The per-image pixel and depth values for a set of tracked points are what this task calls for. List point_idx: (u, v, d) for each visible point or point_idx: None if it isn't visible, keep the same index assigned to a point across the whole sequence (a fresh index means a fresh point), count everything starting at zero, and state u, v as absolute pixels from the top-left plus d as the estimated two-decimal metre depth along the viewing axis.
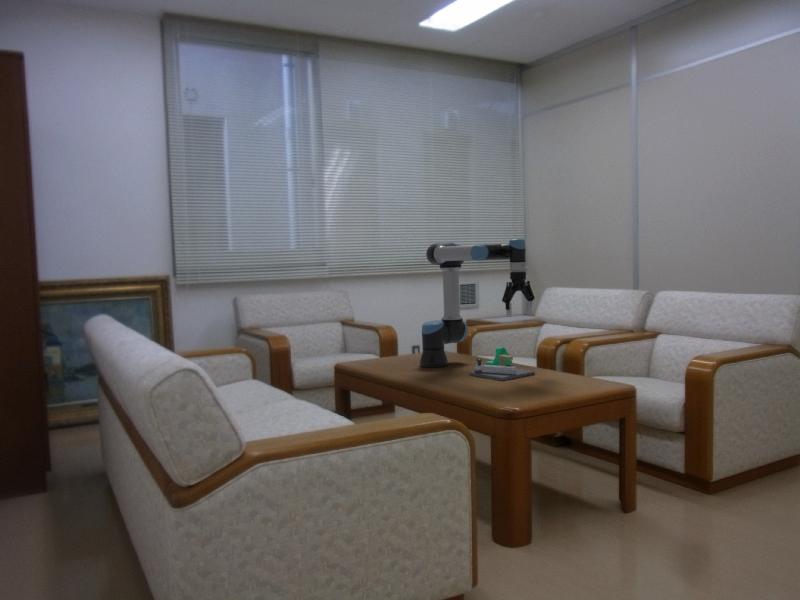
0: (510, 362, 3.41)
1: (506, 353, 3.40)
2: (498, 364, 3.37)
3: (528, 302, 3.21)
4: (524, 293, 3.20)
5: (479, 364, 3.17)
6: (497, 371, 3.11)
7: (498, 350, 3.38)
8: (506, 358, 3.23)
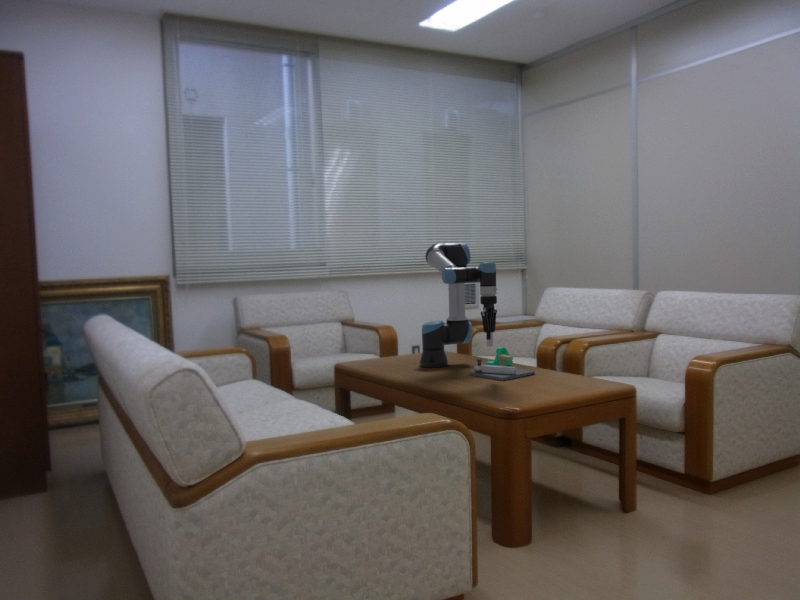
0: (511, 362, 3.41)
1: (507, 353, 3.39)
2: (498, 364, 3.37)
3: None
4: None
5: (479, 364, 3.17)
6: (497, 371, 3.11)
7: (499, 350, 3.38)
8: (506, 358, 3.23)
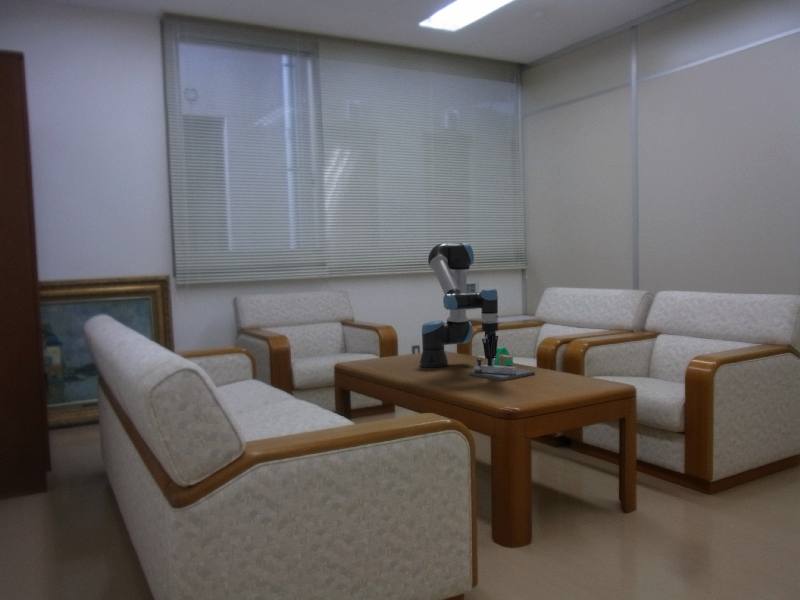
0: (511, 362, 3.41)
1: (507, 353, 3.39)
2: (499, 364, 3.36)
3: None
4: None
5: (479, 364, 3.17)
6: (497, 371, 3.11)
7: (499, 350, 3.37)
8: (506, 358, 3.23)
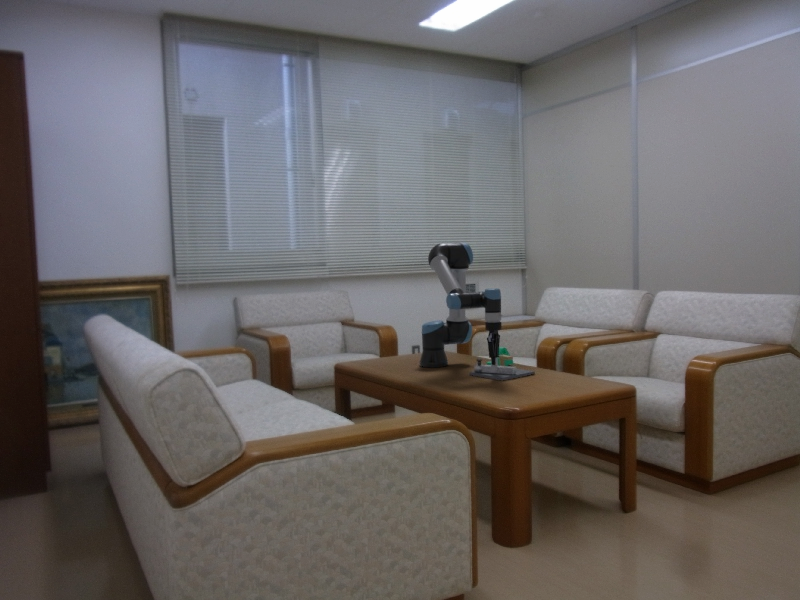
0: (511, 362, 3.40)
1: (507, 353, 3.39)
2: (499, 364, 3.36)
3: None
4: None
5: (479, 364, 3.17)
6: (497, 371, 3.11)
7: (499, 350, 3.37)
8: (506, 358, 3.23)
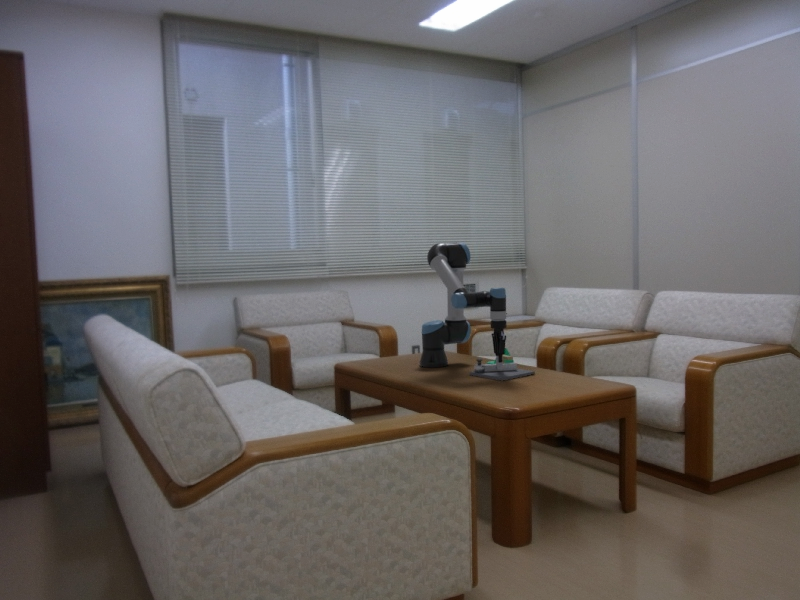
0: (511, 362, 3.40)
1: (507, 353, 3.38)
2: None
3: None
4: None
5: (480, 364, 3.17)
6: None
7: None
8: (506, 358, 3.23)
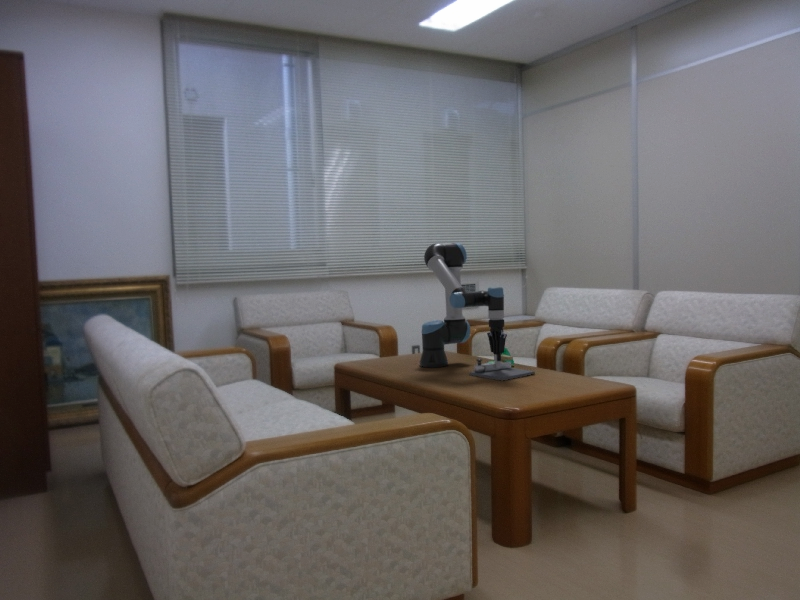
0: (512, 362, 3.40)
1: (508, 353, 3.38)
2: None
3: None
4: None
5: (481, 364, 3.17)
6: None
7: None
8: (506, 358, 3.23)
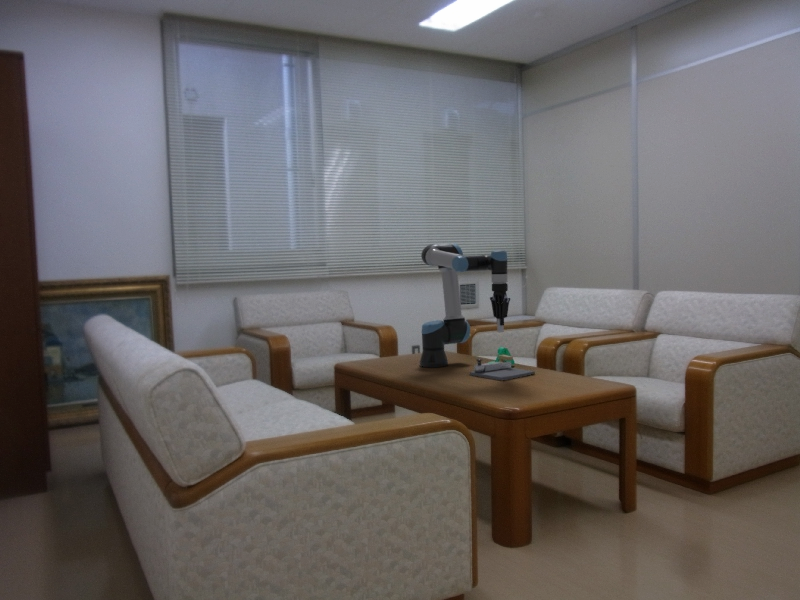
0: (512, 362, 3.40)
1: (508, 353, 3.38)
2: None
3: None
4: None
5: (481, 364, 3.17)
6: (498, 367, 3.21)
7: (500, 350, 3.37)
8: (506, 358, 3.23)
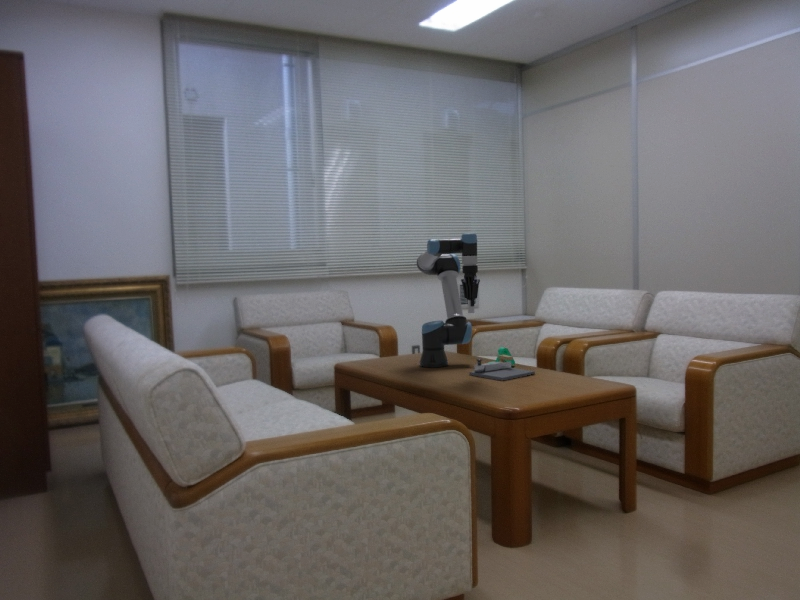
0: (513, 363, 3.39)
1: (508, 353, 3.38)
2: None
3: None
4: None
5: (481, 364, 3.17)
6: (498, 367, 3.21)
7: (500, 350, 3.36)
8: (506, 358, 3.23)
